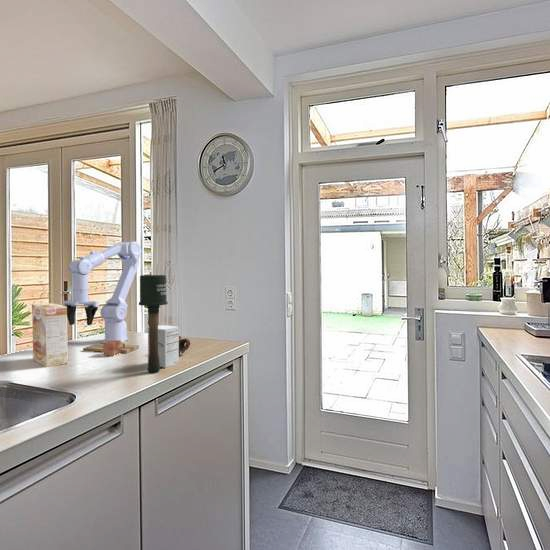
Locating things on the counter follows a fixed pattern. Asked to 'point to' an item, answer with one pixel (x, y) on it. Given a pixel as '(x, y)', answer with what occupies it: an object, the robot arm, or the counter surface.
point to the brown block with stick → (112, 347)
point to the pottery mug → (183, 345)
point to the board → (100, 348)
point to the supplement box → (167, 345)
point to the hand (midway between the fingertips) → (80, 324)
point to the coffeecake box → (49, 334)
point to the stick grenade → (153, 312)
